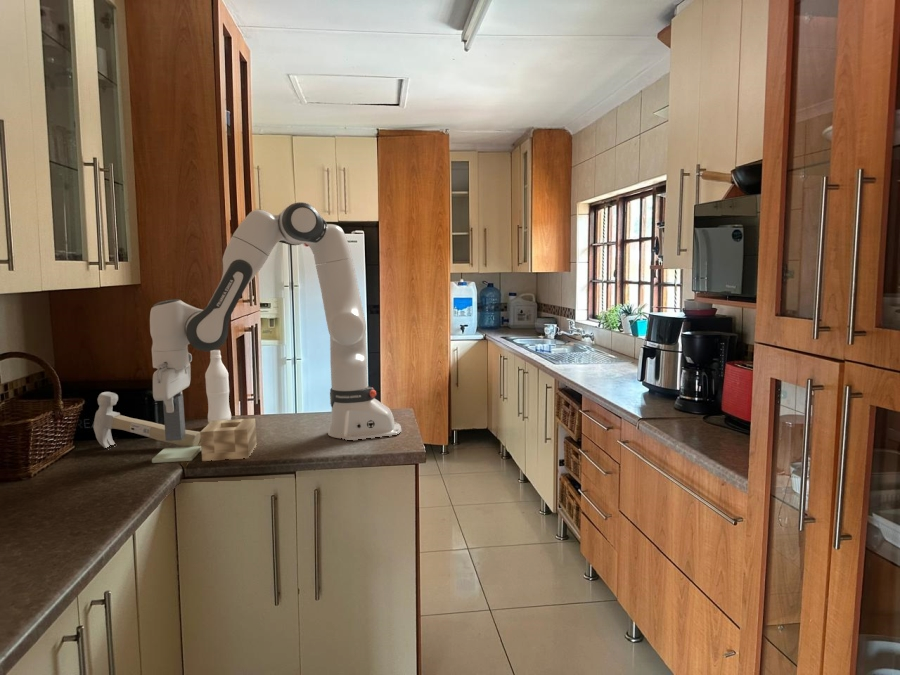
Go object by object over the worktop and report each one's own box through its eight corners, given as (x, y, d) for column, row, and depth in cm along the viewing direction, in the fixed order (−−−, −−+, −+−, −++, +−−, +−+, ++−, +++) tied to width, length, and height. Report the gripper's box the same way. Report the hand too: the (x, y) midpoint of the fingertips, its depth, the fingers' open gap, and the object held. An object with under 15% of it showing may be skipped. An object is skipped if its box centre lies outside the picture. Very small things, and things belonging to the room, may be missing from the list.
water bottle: (203, 426, 194) (198, 351, 191) (223, 422, 200) (219, 348, 197) (216, 430, 190) (211, 352, 187) (236, 425, 195) (231, 350, 192)
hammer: (204, 413, 172) (106, 390, 173) (197, 417, 168) (96, 393, 169) (196, 464, 174) (99, 441, 175) (188, 469, 170) (88, 446, 171)
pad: (201, 449, 169) (201, 446, 169) (191, 460, 159) (191, 456, 159) (164, 451, 168) (164, 448, 168) (152, 462, 158) (151, 459, 158)
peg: (185, 436, 165) (182, 393, 164) (181, 440, 161) (178, 396, 160) (170, 436, 165) (167, 394, 163) (165, 441, 161) (162, 397, 159)
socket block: (256, 445, 172) (255, 418, 171) (248, 458, 160) (246, 429, 160) (213, 447, 171) (211, 420, 170) (202, 461, 159) (200, 431, 158)
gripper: (170, 365, 151) (174, 418, 152) (193, 354, 171) (196, 401, 173) (144, 366, 150) (148, 419, 152) (170, 354, 170) (173, 402, 172)
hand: (174, 409), depth 162 cm, fingers closed on peg, 4 cm apart
